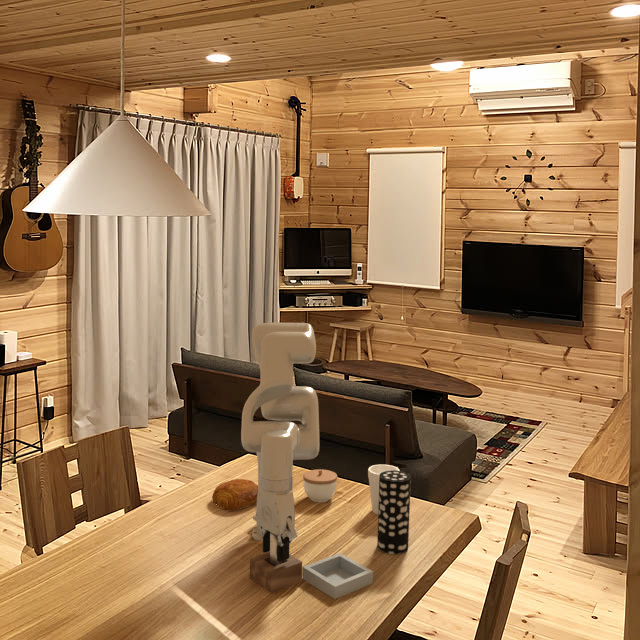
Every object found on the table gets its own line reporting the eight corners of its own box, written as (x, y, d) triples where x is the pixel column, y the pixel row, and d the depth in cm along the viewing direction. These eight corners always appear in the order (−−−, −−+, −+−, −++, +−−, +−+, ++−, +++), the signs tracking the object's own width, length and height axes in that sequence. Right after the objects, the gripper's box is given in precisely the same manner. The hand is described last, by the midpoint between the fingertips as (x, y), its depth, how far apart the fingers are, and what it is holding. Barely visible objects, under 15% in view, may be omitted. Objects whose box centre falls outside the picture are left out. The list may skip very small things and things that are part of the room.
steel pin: (267, 579, 172) (267, 532, 171) (276, 575, 174) (277, 529, 172) (274, 583, 170) (274, 536, 169) (283, 580, 172) (284, 533, 170)
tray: (302, 582, 173) (302, 566, 173) (339, 567, 181) (340, 552, 180) (334, 603, 164) (335, 586, 163) (372, 586, 172) (373, 571, 171)
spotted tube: (406, 555, 188) (409, 482, 185) (375, 552, 190) (377, 480, 187) (409, 542, 196) (412, 472, 193) (379, 538, 198) (381, 469, 195)
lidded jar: (299, 493, 229) (300, 465, 228) (331, 491, 232) (332, 463, 231) (306, 506, 219) (307, 477, 218) (340, 503, 222) (341, 474, 220)
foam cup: (377, 519, 211) (378, 477, 209) (361, 508, 219) (362, 467, 217) (404, 513, 215) (405, 472, 213) (387, 502, 223) (388, 462, 221)
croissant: (269, 508, 223) (272, 483, 223) (231, 516, 211) (235, 489, 211) (238, 494, 232) (241, 470, 232) (200, 501, 221) (203, 476, 220)
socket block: (249, 582, 173) (249, 558, 172) (279, 571, 179) (279, 548, 178) (271, 597, 166) (271, 573, 165) (301, 585, 172) (302, 561, 171)
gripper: (243, 475, 173) (242, 546, 175) (285, 497, 160) (284, 573, 162) (268, 469, 178) (267, 538, 180) (311, 489, 165) (310, 564, 167)
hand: (275, 554), depth 171 cm, fingers open, 5 cm apart
